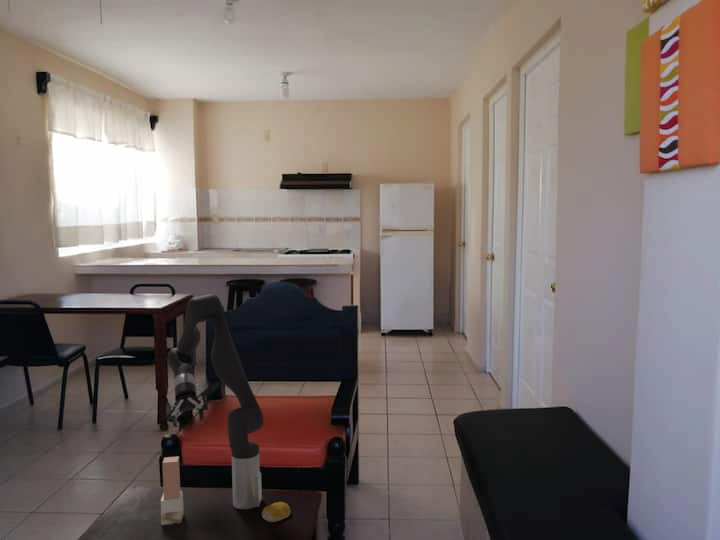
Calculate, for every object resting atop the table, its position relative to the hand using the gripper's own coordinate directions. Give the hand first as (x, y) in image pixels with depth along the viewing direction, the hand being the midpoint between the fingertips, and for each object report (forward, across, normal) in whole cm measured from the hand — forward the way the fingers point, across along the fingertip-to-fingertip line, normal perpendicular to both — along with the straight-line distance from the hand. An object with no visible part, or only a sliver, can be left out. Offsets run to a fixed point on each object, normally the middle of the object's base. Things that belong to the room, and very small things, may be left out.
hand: (188, 422), depth 196 cm
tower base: (+26, -10, +14) cm, 31 cm away
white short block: (+24, -9, +10) cm, 28 cm away
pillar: (+22, -8, +7) cm, 24 cm away
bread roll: (+35, +22, +15) cm, 44 cm away
